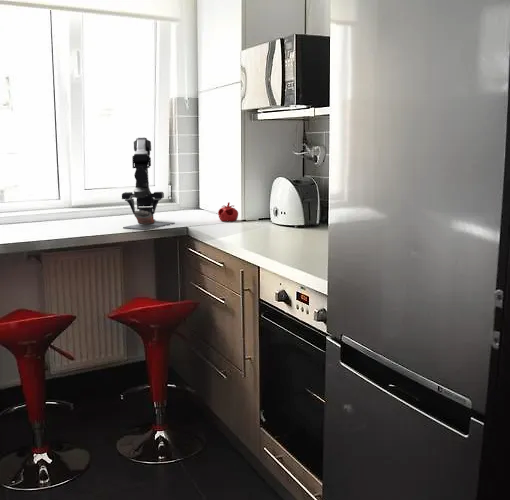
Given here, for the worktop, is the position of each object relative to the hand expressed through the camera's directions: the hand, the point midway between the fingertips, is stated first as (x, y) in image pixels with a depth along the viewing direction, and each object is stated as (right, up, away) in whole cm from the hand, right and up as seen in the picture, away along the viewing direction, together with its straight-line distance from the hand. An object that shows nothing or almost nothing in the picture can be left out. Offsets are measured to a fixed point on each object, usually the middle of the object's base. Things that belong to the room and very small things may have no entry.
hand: (143, 213), depth 279 cm
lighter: (0, -4, +6) cm, 7 cm away
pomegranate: (+39, -3, +19) cm, 43 cm away
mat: (+1, -5, +6) cm, 8 cm away
